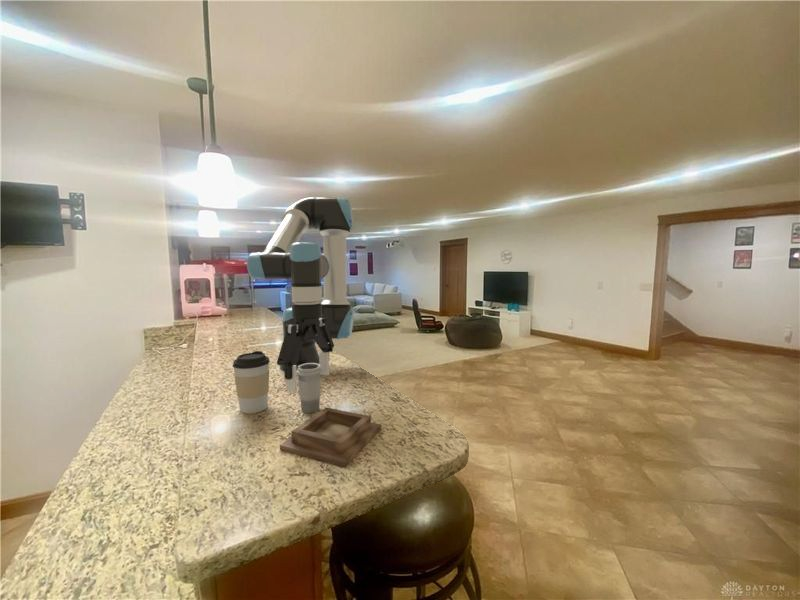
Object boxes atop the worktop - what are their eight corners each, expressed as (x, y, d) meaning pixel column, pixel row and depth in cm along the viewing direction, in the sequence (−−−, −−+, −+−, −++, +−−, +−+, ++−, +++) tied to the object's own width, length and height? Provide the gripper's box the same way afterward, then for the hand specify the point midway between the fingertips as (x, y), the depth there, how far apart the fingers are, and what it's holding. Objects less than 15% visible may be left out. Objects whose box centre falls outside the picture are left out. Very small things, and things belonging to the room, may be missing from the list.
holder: (324, 416, 82) (324, 403, 82) (380, 428, 76) (380, 414, 76) (279, 449, 68) (279, 433, 67) (344, 467, 62) (344, 450, 61)
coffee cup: (258, 416, 82) (255, 360, 81) (227, 413, 84) (224, 358, 82) (278, 402, 91) (276, 350, 89) (250, 399, 93) (247, 349, 91)
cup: (297, 405, 89) (295, 363, 87) (322, 402, 91) (320, 361, 90) (297, 417, 82) (296, 371, 81) (324, 413, 84) (323, 369, 83)
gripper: (323, 298, 96) (325, 367, 98) (258, 307, 73) (262, 397, 75) (345, 299, 93) (346, 370, 95) (284, 308, 70) (287, 401, 72)
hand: (309, 382), depth 85 cm, fingers open, 13 cm apart
